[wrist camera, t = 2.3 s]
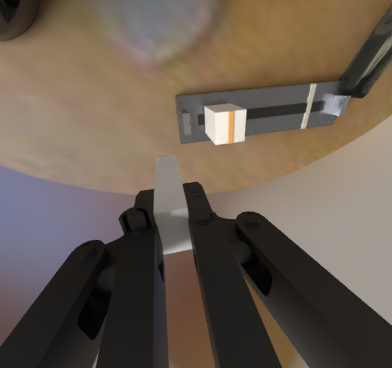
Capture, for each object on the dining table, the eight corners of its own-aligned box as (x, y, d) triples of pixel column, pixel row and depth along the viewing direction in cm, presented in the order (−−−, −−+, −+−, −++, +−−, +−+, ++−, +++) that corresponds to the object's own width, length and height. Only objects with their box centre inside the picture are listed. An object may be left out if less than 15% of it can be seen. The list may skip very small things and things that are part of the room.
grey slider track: (174, 95, 27) (177, 98, 24) (337, 80, 31) (359, 80, 27) (180, 140, 31) (182, 148, 28) (324, 122, 34) (342, 127, 31)
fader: (204, 105, 27) (215, 113, 21) (230, 103, 27) (247, 109, 22) (205, 132, 29) (215, 145, 24) (229, 129, 29) (244, 141, 24)
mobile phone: (367, 101, 29) (462, -26, 22) (355, 94, 28) (451, -41, 21) (340, 97, 33) (414, -11, 26) (329, 90, 32) (403, -23, 25)
